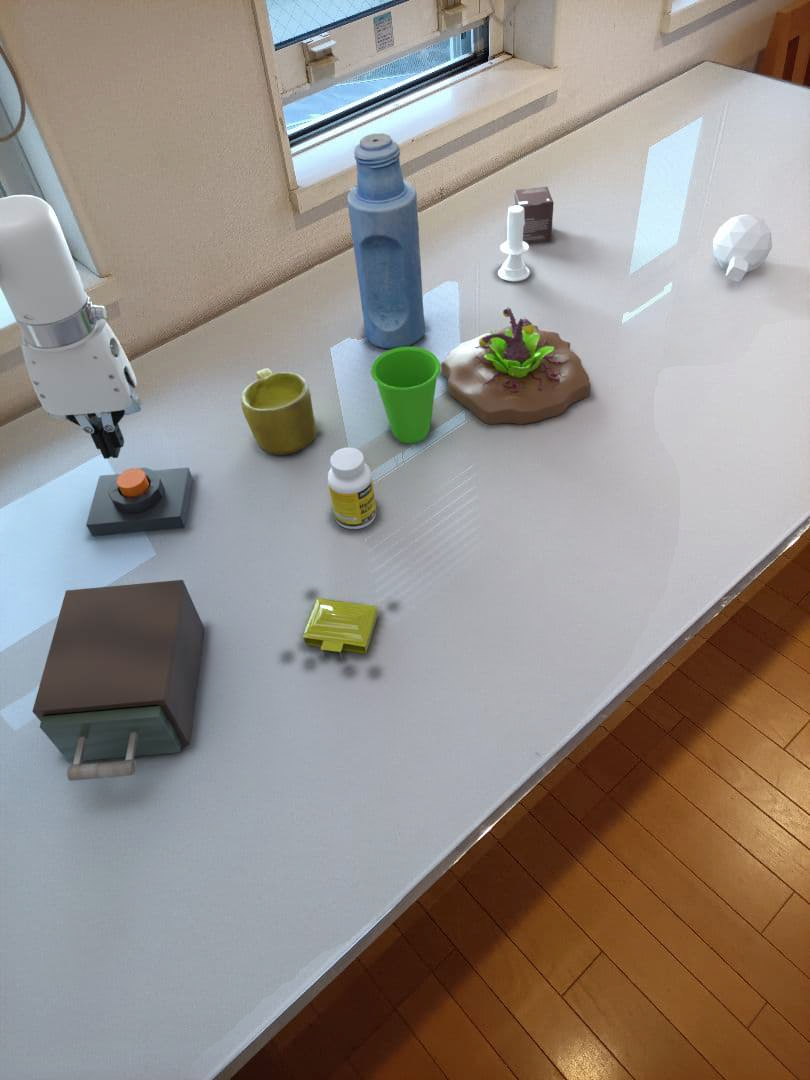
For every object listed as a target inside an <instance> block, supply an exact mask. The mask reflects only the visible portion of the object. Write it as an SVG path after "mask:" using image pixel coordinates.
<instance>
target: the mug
mask: <svg viewBox="0 0 810 1080" xmlns="http://www.w3.org/2000/svg"><path fill="white" fill-rule="evenodd" d="M256 376H257V379H256V380H254V381H253V382H251V383H250V384H249V385H247V386H246V387H245V388H244V389H243V390H242V393H241V397H240V404H241V409H242V413H243V415H244V417H245V420H246V423H247V424H248V426H249V429H250V431H251V433H252V435H253V437H254V439H255V441H256V443H257V444H258V446H259V447H260V449H262V450H263V451H265V452H267V453H268V454H271V455H283V456H284V455H291V454H293V453H297V452H299V451H301V450H302V449H303V448H305V447H308V446H309V445H310V444H311V443H312V442H313V441H314V440H315V439H316V437H317V432H318V426H317V425H318V424H317V421H316V418H315V414H314V409H313V402H312V396H311V395H312V394H311V390H310V386H309V384H308V382H307V381H306V379H305V378H304V377H303V376H301V375H300V374H297V373H294V372H284V371H283V372H282V371H281V372H277V373H273V372H272V371H271V370H270V368H267V367H266V368H261V369H260V370H257V371H256Z"/></svg>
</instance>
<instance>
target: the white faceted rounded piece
mask: <svg viewBox="0 0 810 1080" xmlns="http://www.w3.org/2000/svg"><path fill="white" fill-rule="evenodd" d="M772 238H773V237H772V231H771V229H770V228H769V226H768V223H766V221H765V219H764V218H763V217H759V216H756V215H754V214H751V213H746V214H740V215H733V216H732V217H731V218H729V219H728V220H727V221H726V222H725V223H722V225H721V226H719V228H718V229H717V231H716V234H715V235H714V237H713V240H712V250H713V258H714V259H715V260H716V262H717V263H718V265H719V266H720V268H721V269H723V270H725V271H726V272H725V278H726V279H729V280H732V281H734V282H737V283H740V282H741V280H742V279H743V278H744V276H745V275H746V273H749V272H752V271H754V270H755V269H756V268H757V267H760V265H762V264H763V263H764V262H765V261H766V259H767V257H768V256H769V254H770V252H771V251H772V248H773V240H772Z"/></svg>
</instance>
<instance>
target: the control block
mask: <svg viewBox="0 0 810 1080" xmlns="http://www.w3.org/2000/svg"><path fill="white" fill-rule="evenodd" d="M137 469H141V470H143V471H144V473H145V475H146V477H147V480H148V482H149V488H148V489H147V490H146V491H145V492H144V493H143V494H141V495H139V496H137V497H126V496H124V495H123V494H122V493H121V491H120V489H119V487H118V484H117V478H118V476H119V475H120V474H121V473H114V474H113V473H112V474H105V475H104V474H103V475H99V476H98V481H97V484H96V488H95V491H94V495H93V498H92V502H91V506H90V508H89V513H88V516H87V520H86V524H85V526H86V528H87V529H88V531H89V533H90V535H91V536H92V537H102V536H112V535H122V534H133V533H134V534H135V533H144V532H145V533H146V532H156V531H164V530H165V531H166V530H176V529H185V528H186V523H187V516H188V511H189V504H190V500H191V499H190V498H191V493H192V488H193V487H192V486H193V481H194V478H193V475H192V473H191V470H190V467H181V468H180V467H178V468H168V469H158V470H153V469H150V468H148V467H137Z"/></svg>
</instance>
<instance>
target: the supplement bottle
mask: <svg viewBox="0 0 810 1080" xmlns="http://www.w3.org/2000/svg"><path fill="white" fill-rule="evenodd" d="M329 462H330V469H329V471H328V473H327V484H328V490H329V494H330V495H329V496H330V502H331V507H332V512H333V516H334V520H335V521H336V523H337V524H338V525H339V526H340V527H342V528H344V529H348V530H359V529H363V528H365V527H367V526H369V525H370V524H371V523H373V522H374V520H375V518H376V516H377V505H376V497H375V489H374V479H373V474H372V471H371V468H370V467H369V465H368V464H366V462H365V458H364V454H363V452H362V451H361V450H359V449H358V448H355V447H342V448H340V449H337V450H336V451H335V452H333V453H332V454H331V456H330V461H329Z"/></svg>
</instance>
